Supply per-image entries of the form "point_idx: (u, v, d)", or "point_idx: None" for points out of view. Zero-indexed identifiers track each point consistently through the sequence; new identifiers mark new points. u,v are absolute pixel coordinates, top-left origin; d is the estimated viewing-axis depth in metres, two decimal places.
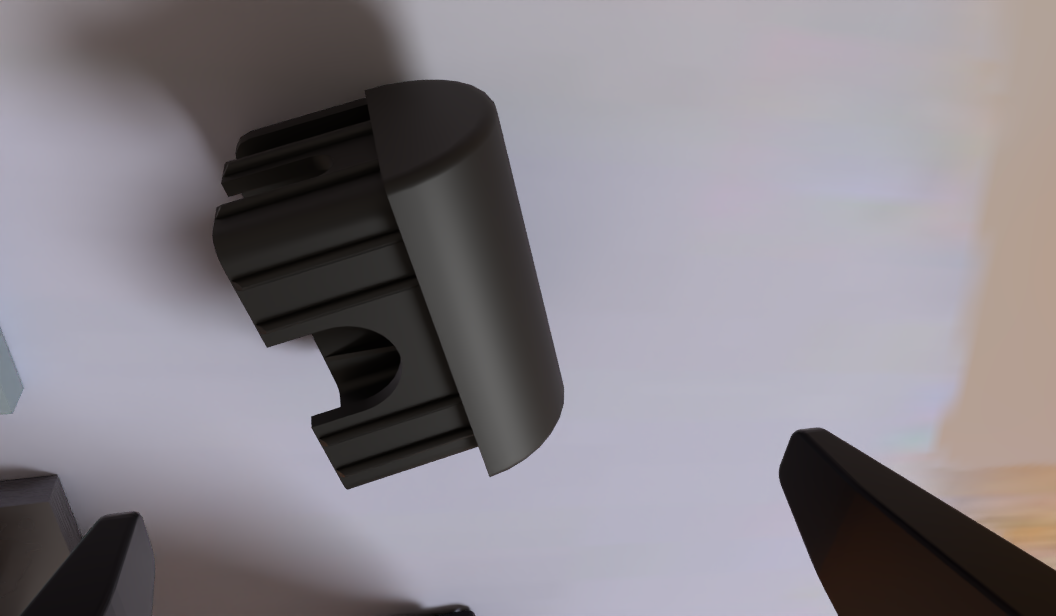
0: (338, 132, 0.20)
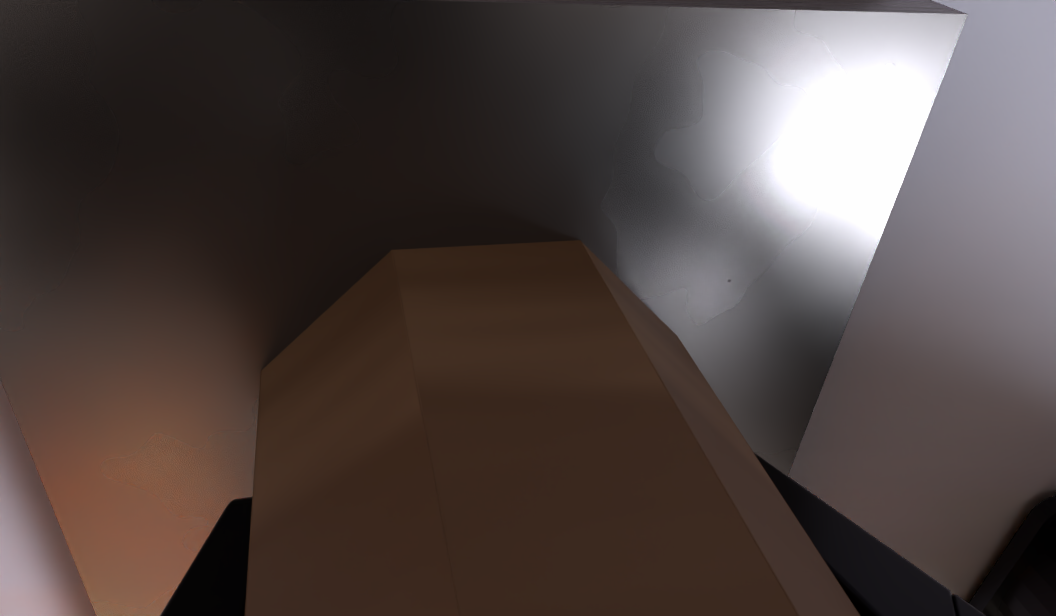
0: None
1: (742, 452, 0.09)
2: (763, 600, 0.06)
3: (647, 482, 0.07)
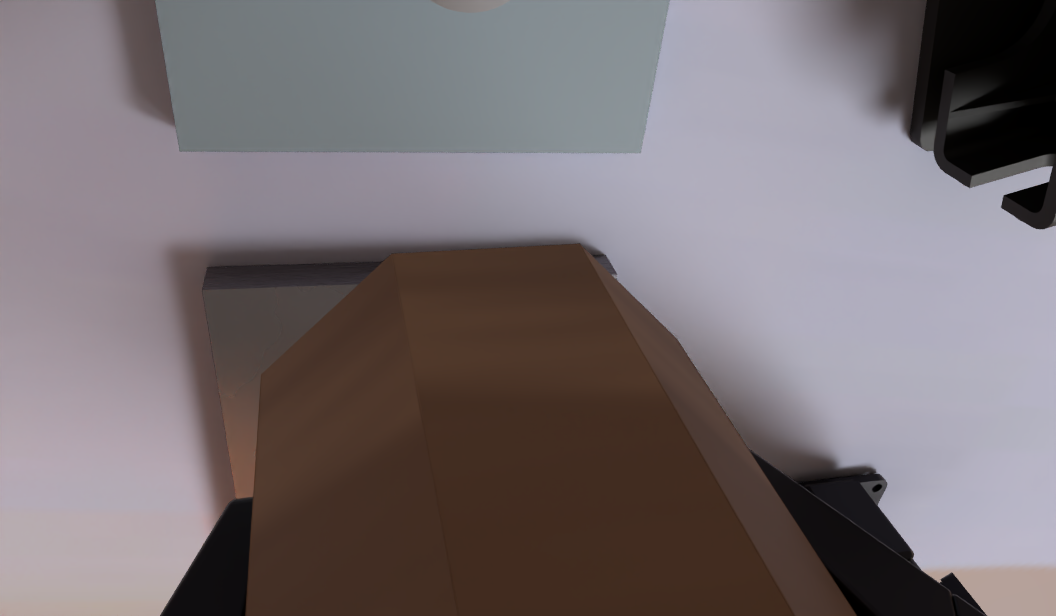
0: None
1: (741, 456, 0.09)
2: (763, 606, 0.06)
3: (646, 487, 0.07)
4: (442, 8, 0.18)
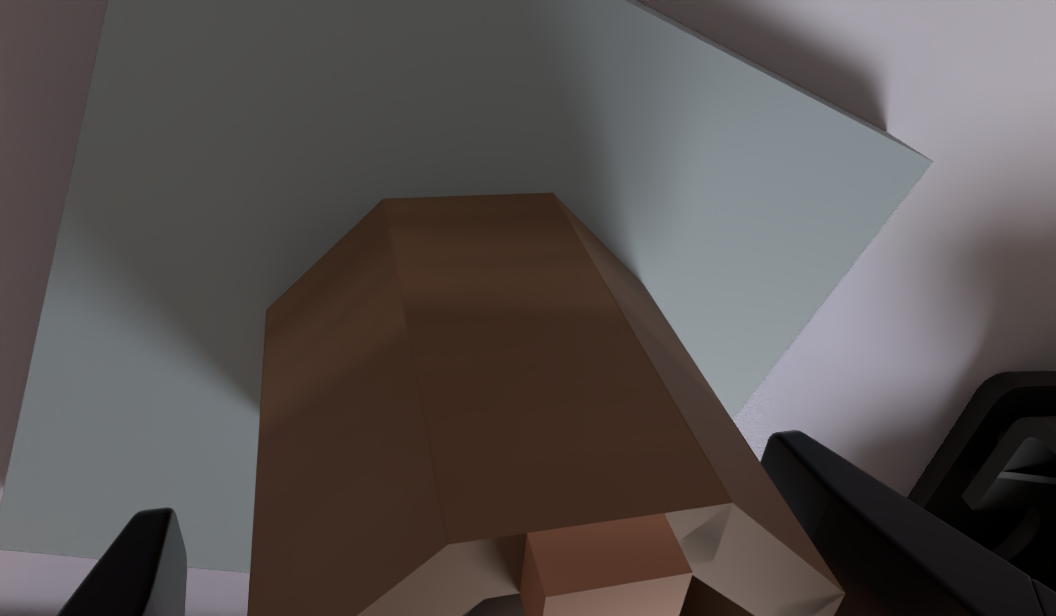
0: None
1: (692, 374, 0.10)
2: (687, 463, 0.07)
3: (597, 378, 0.08)
4: None
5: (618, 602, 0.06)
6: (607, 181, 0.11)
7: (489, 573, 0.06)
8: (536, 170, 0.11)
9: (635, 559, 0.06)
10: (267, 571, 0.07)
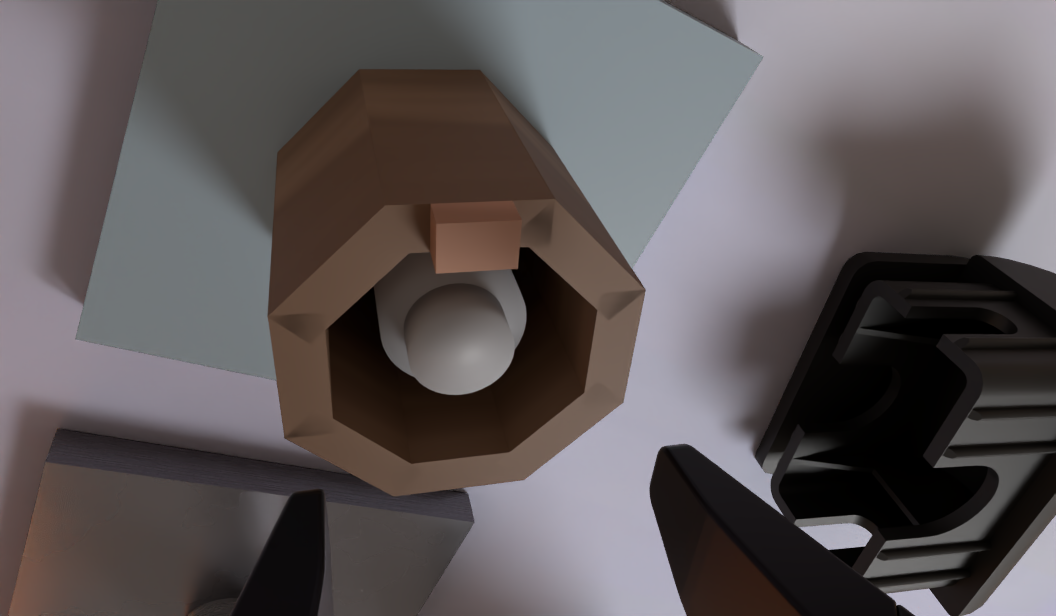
0: (992, 292, 0.22)
1: (568, 182, 0.15)
2: (533, 184, 0.12)
3: (487, 151, 0.13)
4: None
5: (480, 236, 0.11)
6: (519, 62, 0.16)
7: (410, 232, 0.11)
8: (467, 52, 0.16)
9: (490, 214, 0.11)
10: (281, 262, 0.12)
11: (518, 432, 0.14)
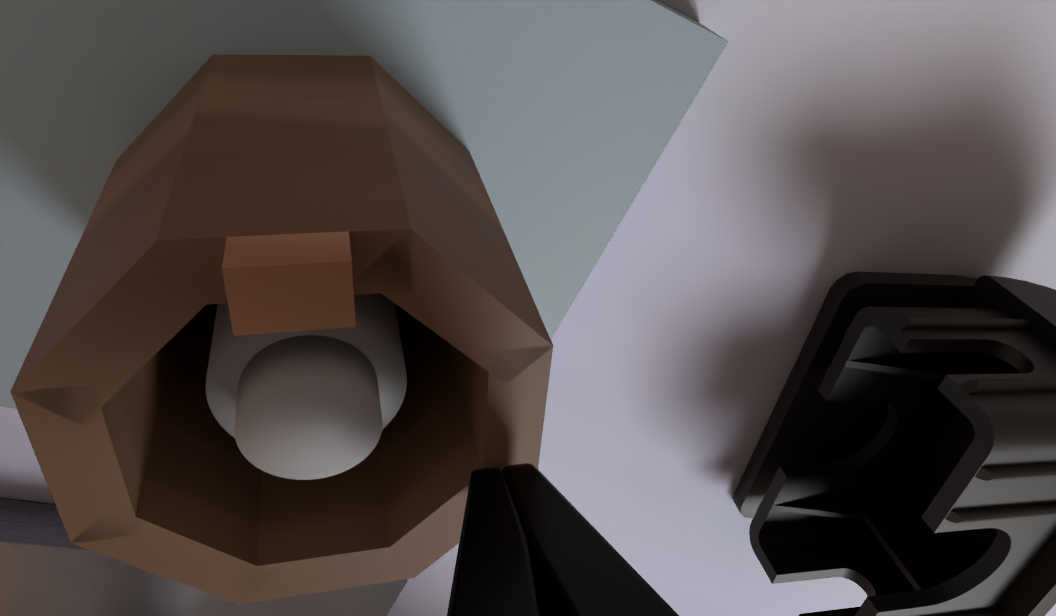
0: (1004, 321, 0.19)
1: (471, 198, 0.12)
2: (386, 207, 0.08)
3: (339, 160, 0.09)
4: None
5: (291, 284, 0.07)
6: (420, 47, 0.13)
7: (203, 276, 0.08)
8: (351, 33, 0.13)
9: (308, 252, 0.08)
10: (54, 311, 0.09)
11: (402, 520, 0.11)
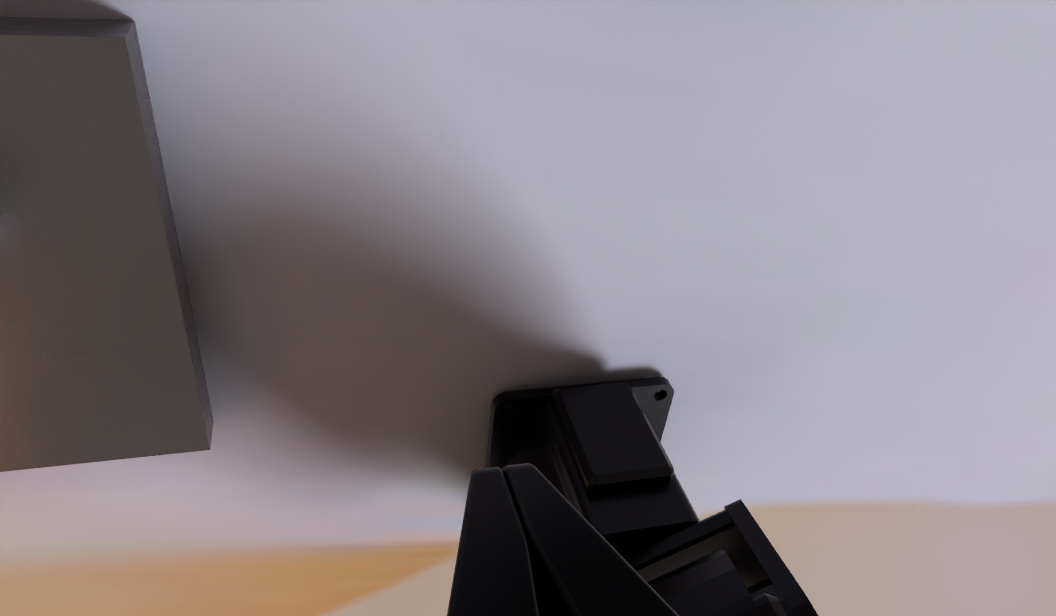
0: None
1: None
2: None
3: None
4: None
5: None
6: None
7: None
8: None
9: None
10: None
11: None
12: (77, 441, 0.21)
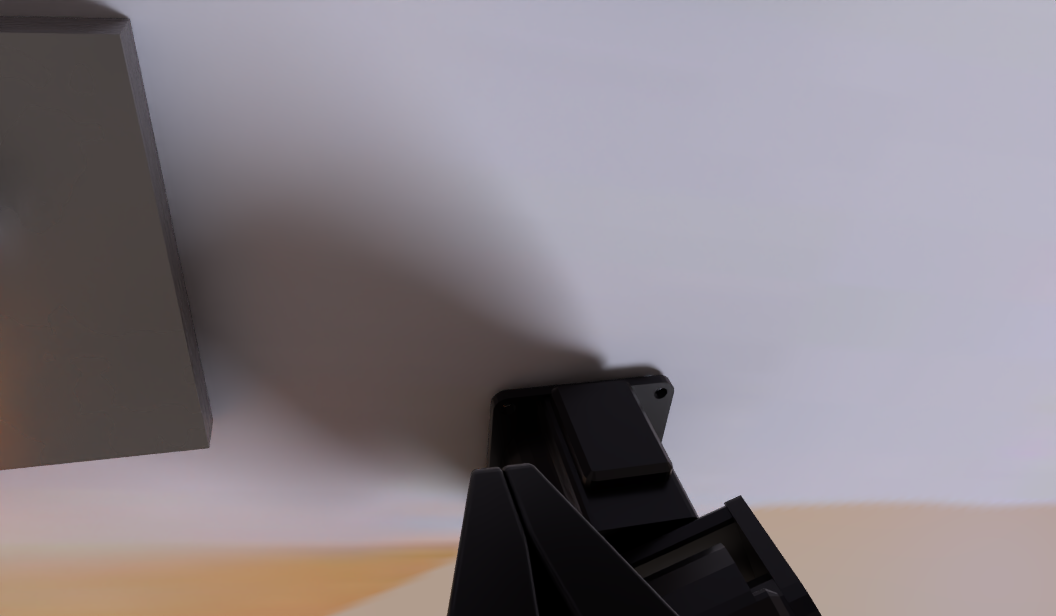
0: None
1: None
2: None
3: None
4: None
5: None
6: None
7: None
8: None
9: None
10: None
11: None
12: (77, 439, 0.21)
